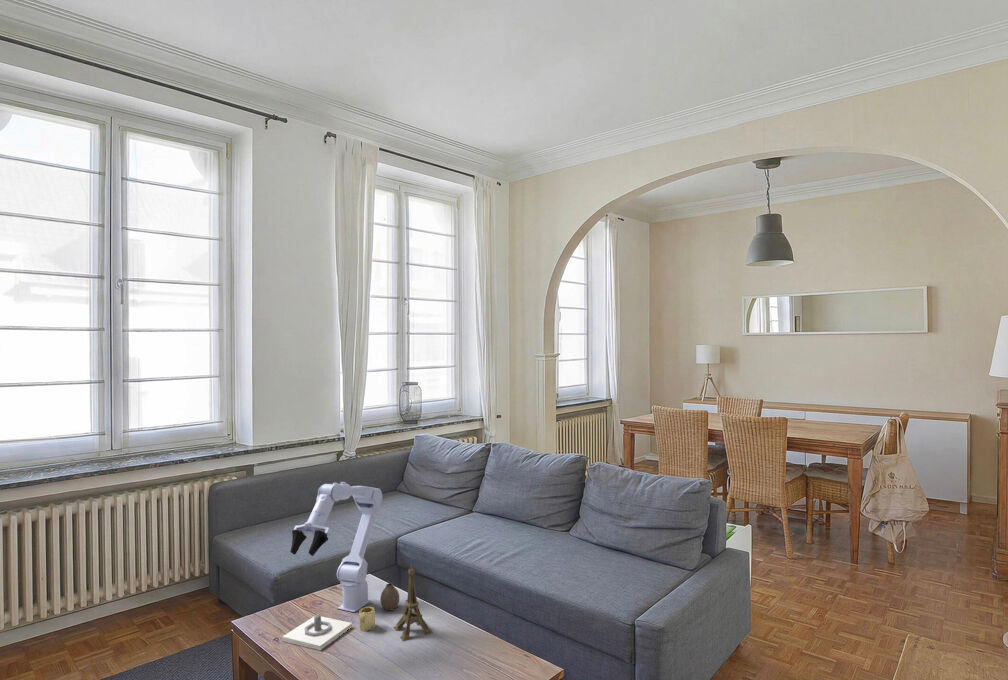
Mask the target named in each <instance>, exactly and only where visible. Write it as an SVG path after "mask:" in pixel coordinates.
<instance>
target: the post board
mask: <svg viewBox="0 0 1008 680" xmlns="http://www.w3.org/2000/svg"><path fill="white" fill-rule="evenodd" d="M351 627H352V628H353V623H352V622H348V621H344V620H339V619H335V618H330V617H325V616H322V615H320V614H317V615H314V616H313V617H311V618H310V619H309V618H308V620H306V621H304V622H303V623H302V624H300V625H298V626H297V627H295V628H293V629H292V630H291V631H289V632H287V633H285V634H284V635H283V636H281V637H282V642H285V643H289V644H293V645H298V646H301V647H305V648H307V649H308V648H309V649H312V650H317V651H321V650H323V649H324V648H326V647H327V646H329V645H330V644H331V643H333V642H334V641H335V640H337V639H339V636H340V637H341V636H343V633H344V634H345V633H346V632H347V630H348V629H349V630H351V629H352V628H351ZM350 628H351V629H350ZM349 630H348V631H349ZM332 641H333V642H332Z"/></svg>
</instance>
